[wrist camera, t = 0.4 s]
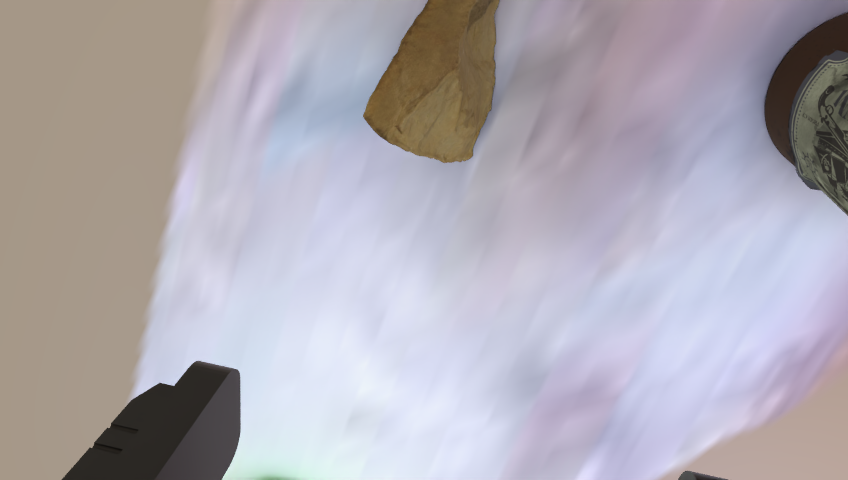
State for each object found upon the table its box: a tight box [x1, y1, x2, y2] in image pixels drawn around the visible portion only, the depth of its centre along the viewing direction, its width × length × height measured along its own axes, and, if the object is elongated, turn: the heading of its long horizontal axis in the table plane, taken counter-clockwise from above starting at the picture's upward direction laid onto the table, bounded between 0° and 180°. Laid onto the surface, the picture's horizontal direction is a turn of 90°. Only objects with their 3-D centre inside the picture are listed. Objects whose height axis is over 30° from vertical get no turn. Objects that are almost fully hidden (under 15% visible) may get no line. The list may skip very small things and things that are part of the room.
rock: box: [363, 0, 499, 163], centre depth 33 cm, size 11×9×10 cm
